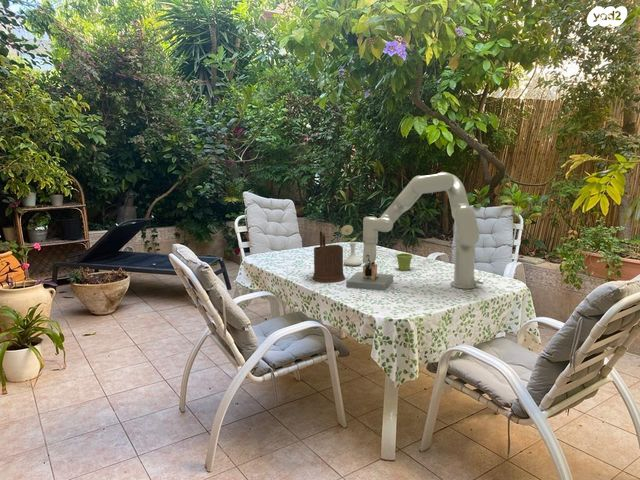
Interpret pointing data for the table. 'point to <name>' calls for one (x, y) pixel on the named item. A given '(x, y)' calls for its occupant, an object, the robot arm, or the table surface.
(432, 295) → the table surface
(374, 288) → the socket
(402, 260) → the plant pot
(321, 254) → the brown cylinder
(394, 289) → the table surface
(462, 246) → the robot arm
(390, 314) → the table surface
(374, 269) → the plug
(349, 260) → the flower in vase
